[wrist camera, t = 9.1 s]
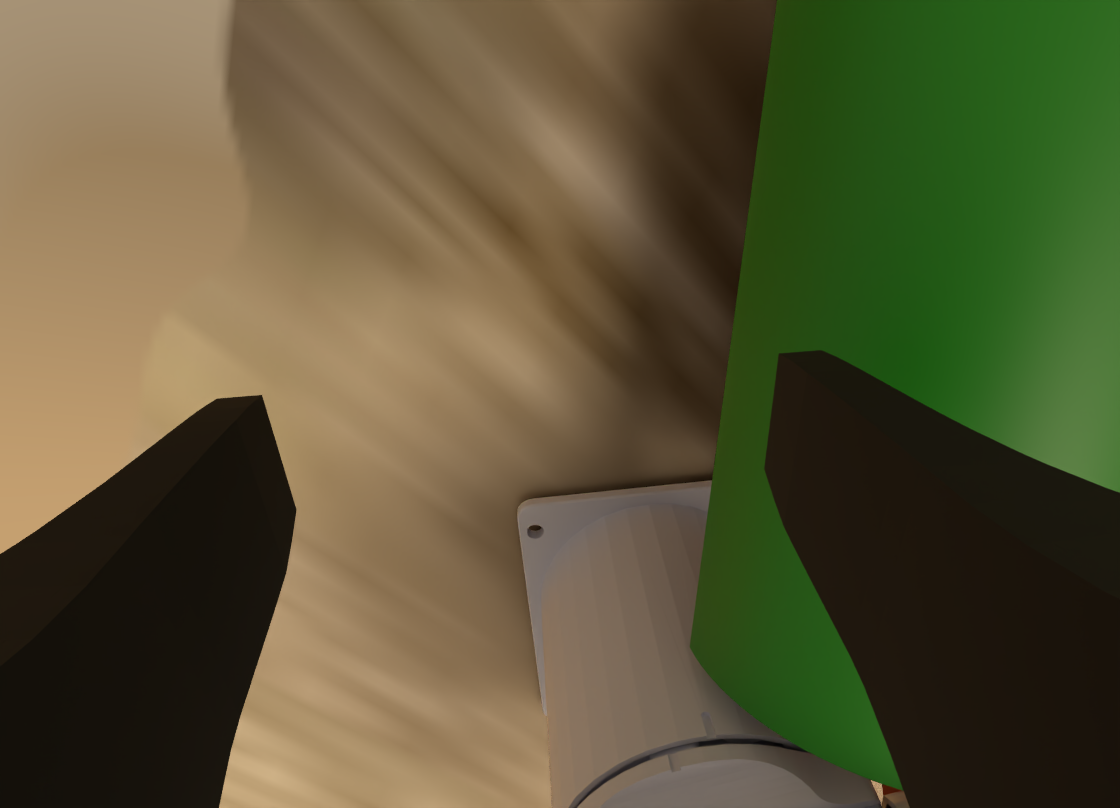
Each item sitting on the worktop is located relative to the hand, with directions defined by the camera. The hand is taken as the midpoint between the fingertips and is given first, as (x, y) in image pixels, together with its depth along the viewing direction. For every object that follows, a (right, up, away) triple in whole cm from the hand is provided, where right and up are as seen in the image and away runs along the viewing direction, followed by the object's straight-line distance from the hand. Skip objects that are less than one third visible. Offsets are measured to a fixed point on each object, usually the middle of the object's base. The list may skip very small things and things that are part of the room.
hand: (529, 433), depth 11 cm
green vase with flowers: (+10, +10, +2) cm, 14 cm away
